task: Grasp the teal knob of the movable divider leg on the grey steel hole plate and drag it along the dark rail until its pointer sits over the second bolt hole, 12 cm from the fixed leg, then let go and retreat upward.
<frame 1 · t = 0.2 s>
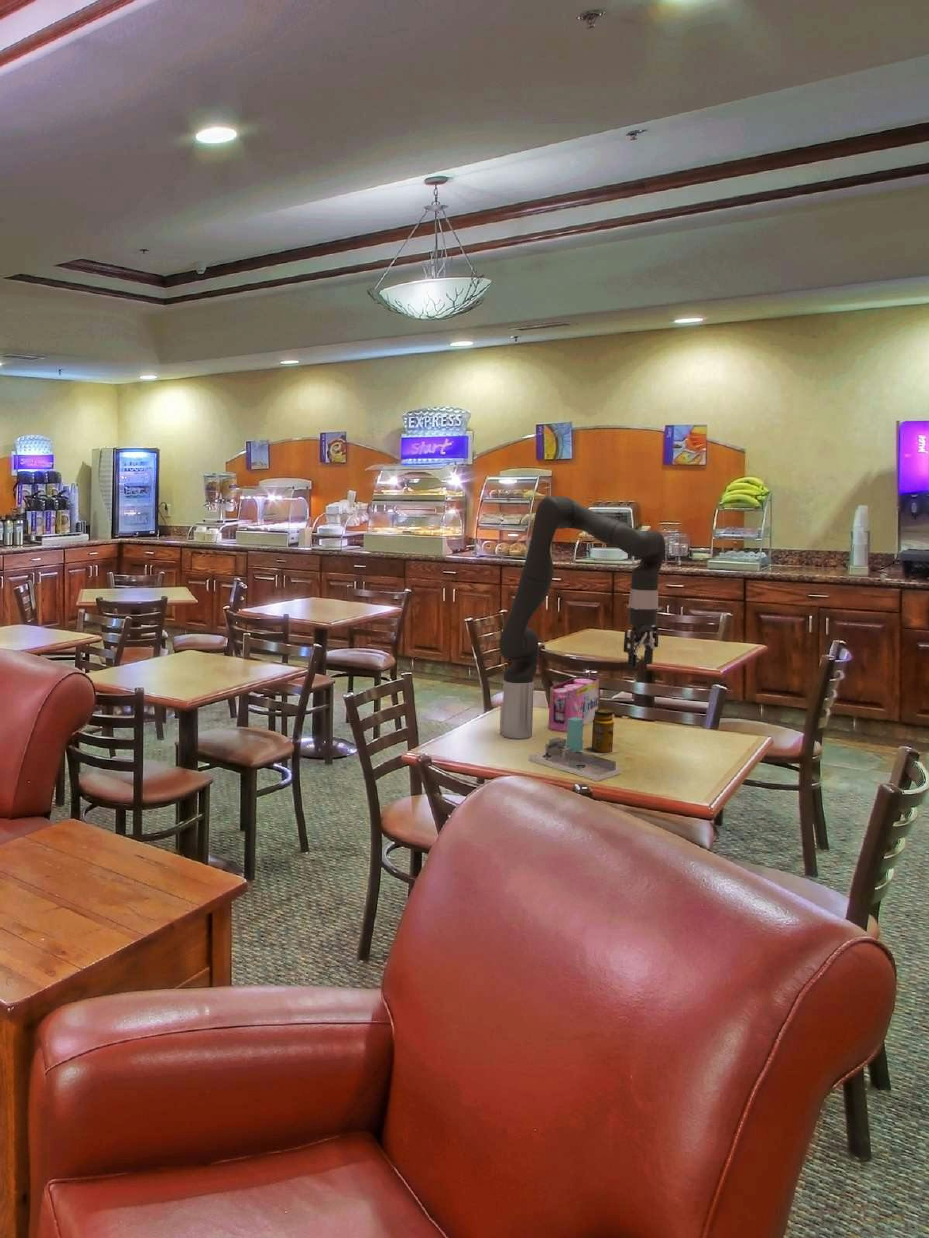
hand: (640, 665, 238), 28 cm above the table, fingers open, 8 cm apart
divider leg: (571, 738, 244), point 7 cm above the table, slide at 6.0 cm
gum box: (573, 724, 289), on the table
condiment: (599, 751, 259), on the table
hole plate: (573, 766, 243), on the table
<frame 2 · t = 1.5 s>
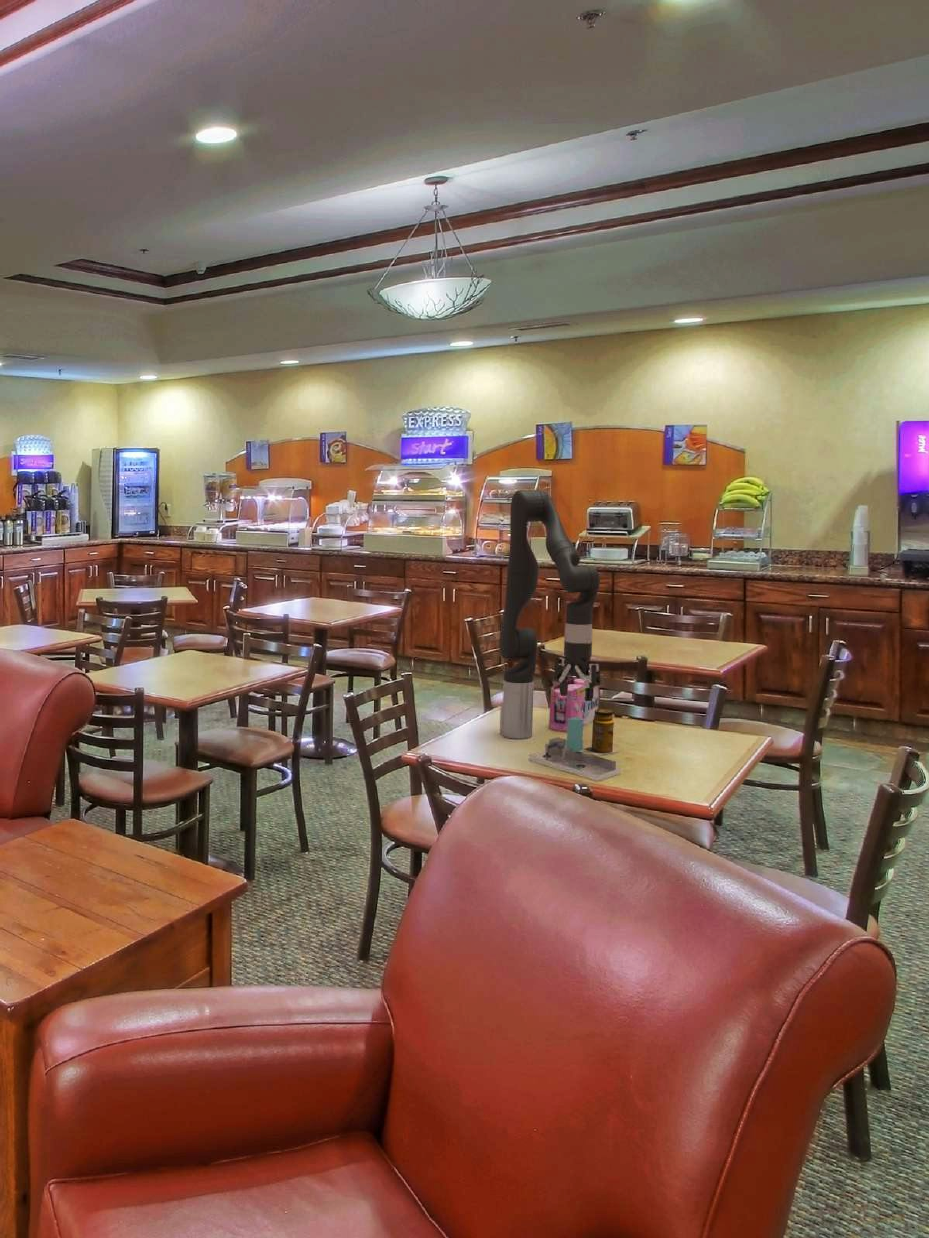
hand: (576, 698, 243), 18 cm above the table, fingers open, 8 cm apart
nothing on the table moved.
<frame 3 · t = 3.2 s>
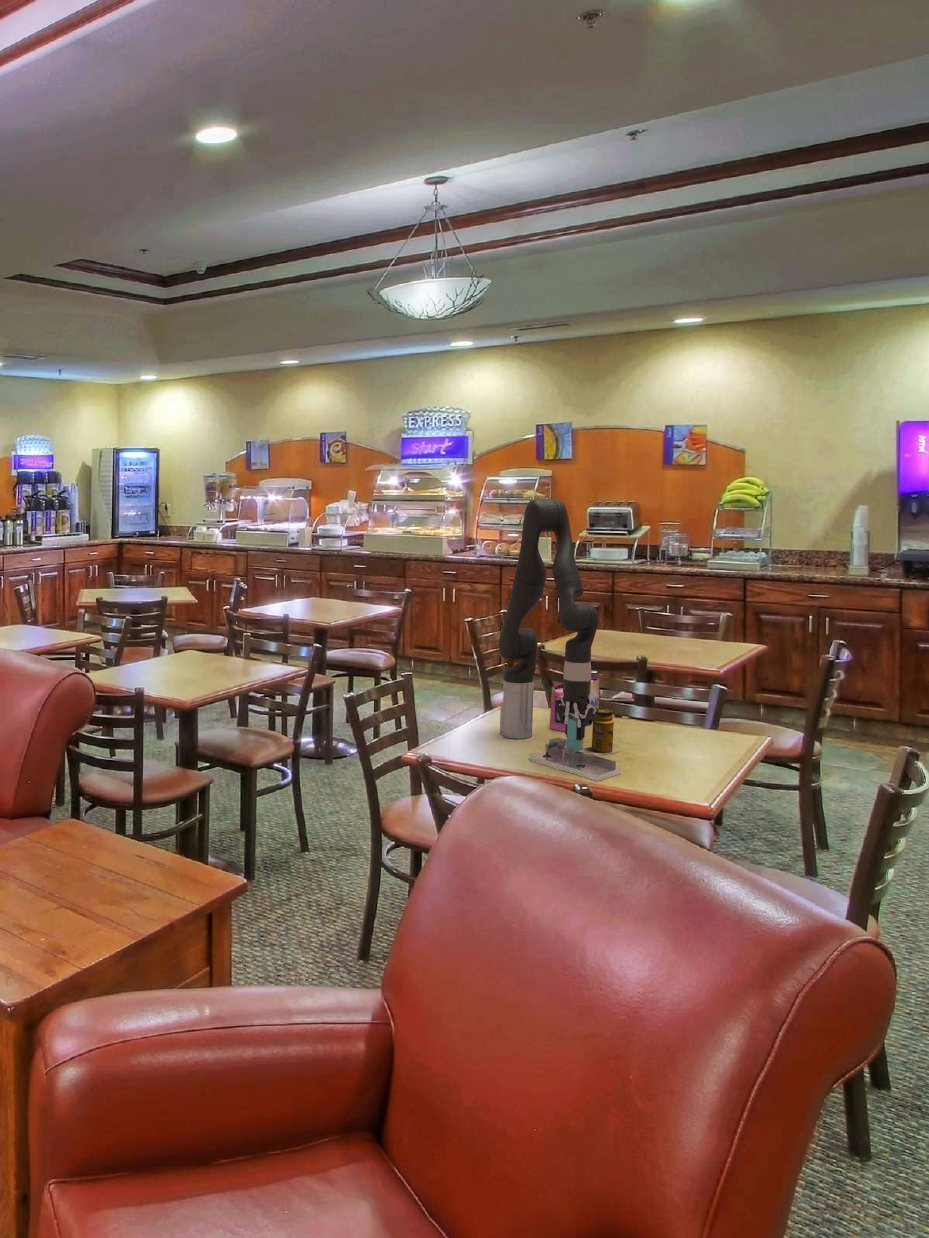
hand: (574, 738, 245), 7 cm above the table, fingers closed on divider leg, 3 cm apart
divider leg: (571, 738, 244), point 7 cm above the table, slide at 6.0 cm, touching gripper
everything else where it was.
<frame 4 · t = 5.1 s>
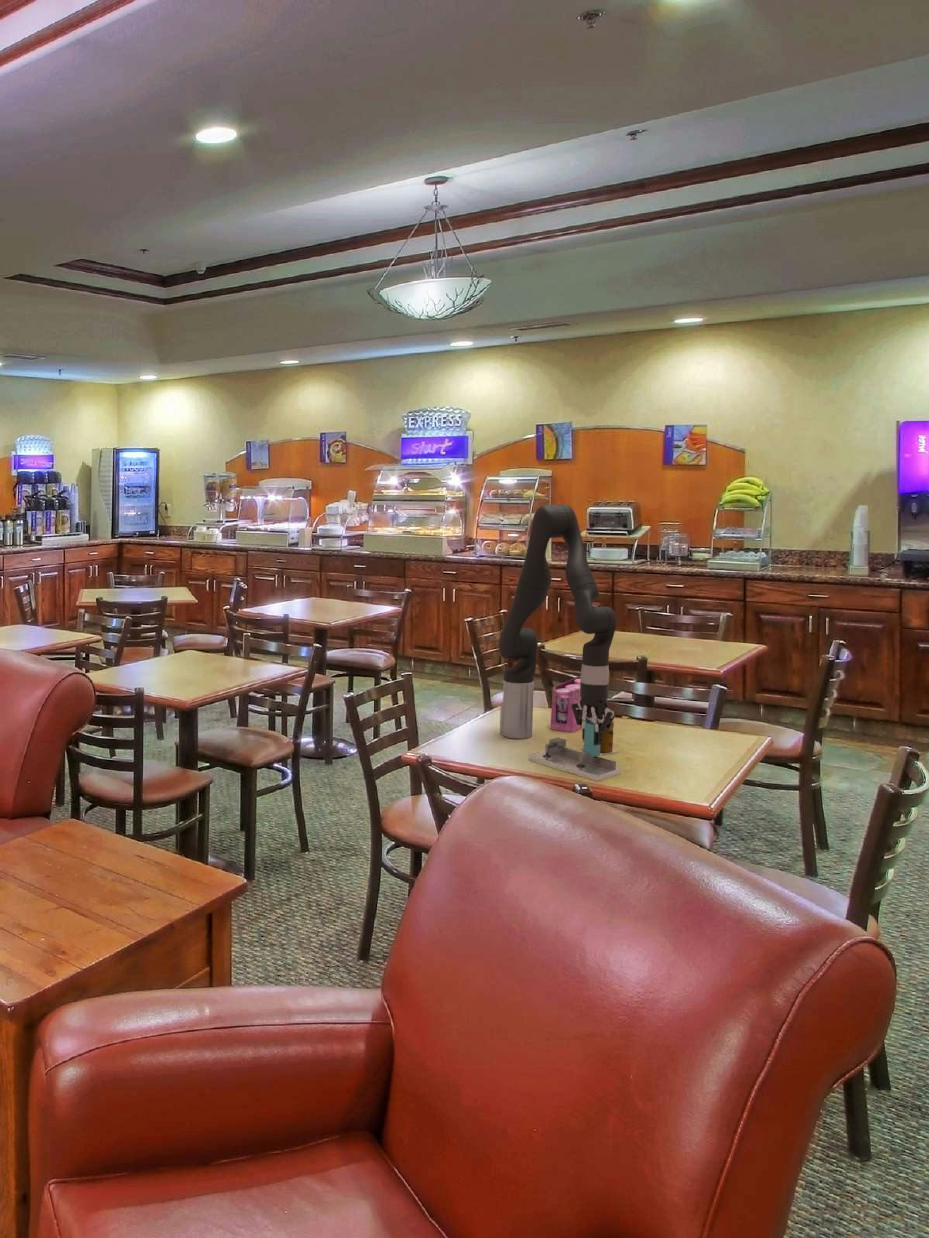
hand: (592, 742, 240), 7 cm above the table, fingers closed on divider leg, 3 cm apart
divider leg: (588, 743, 239), point 7 cm above the table, slide at 11.9 cm, touching gripper
everything else where it was.
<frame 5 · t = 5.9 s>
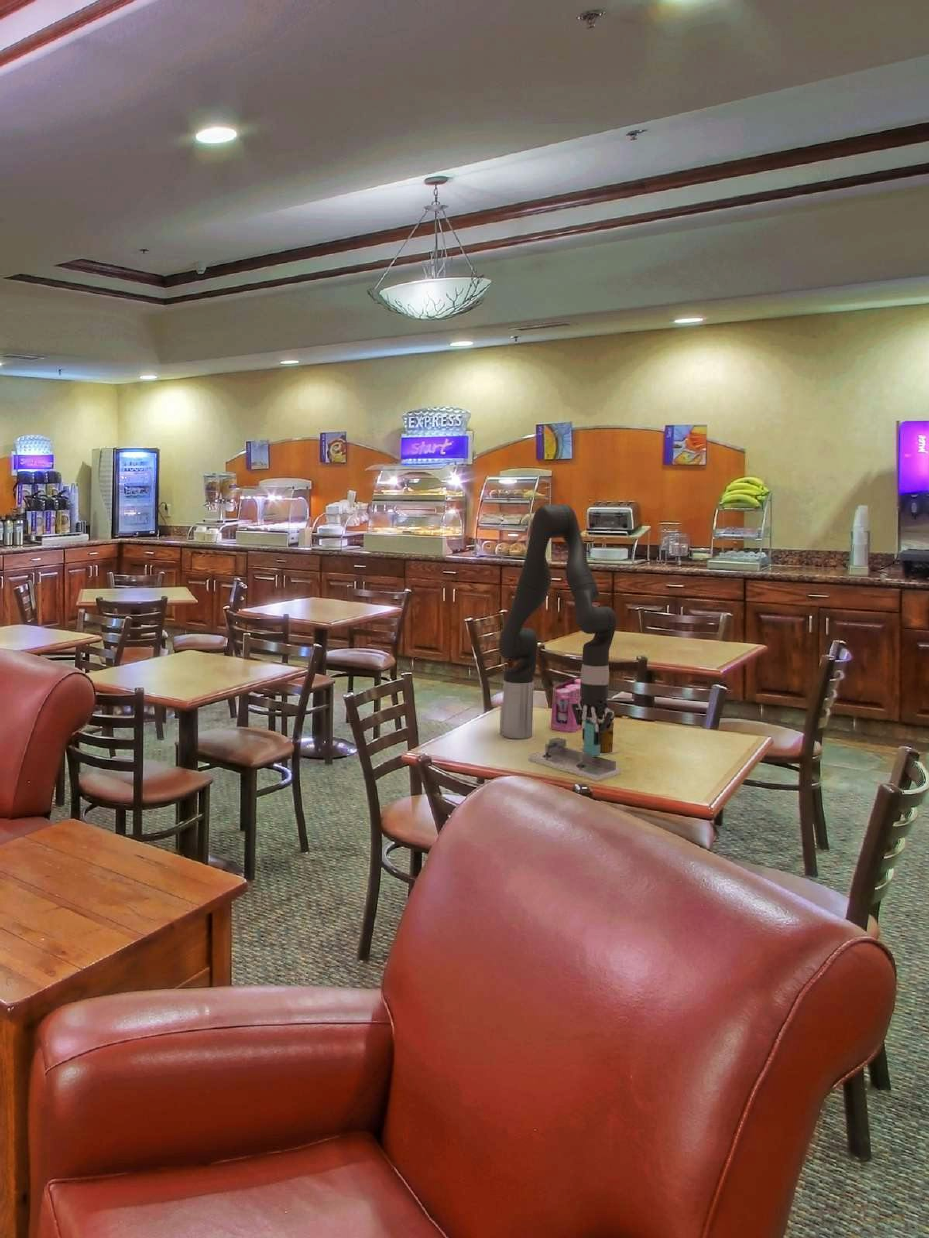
hand: (592, 742, 240), 7 cm above the table, fingers closed on divider leg, 3 cm apart
divider leg: (588, 743, 239), point 7 cm above the table, slide at 11.9 cm, touching gripper
everything else where it was.
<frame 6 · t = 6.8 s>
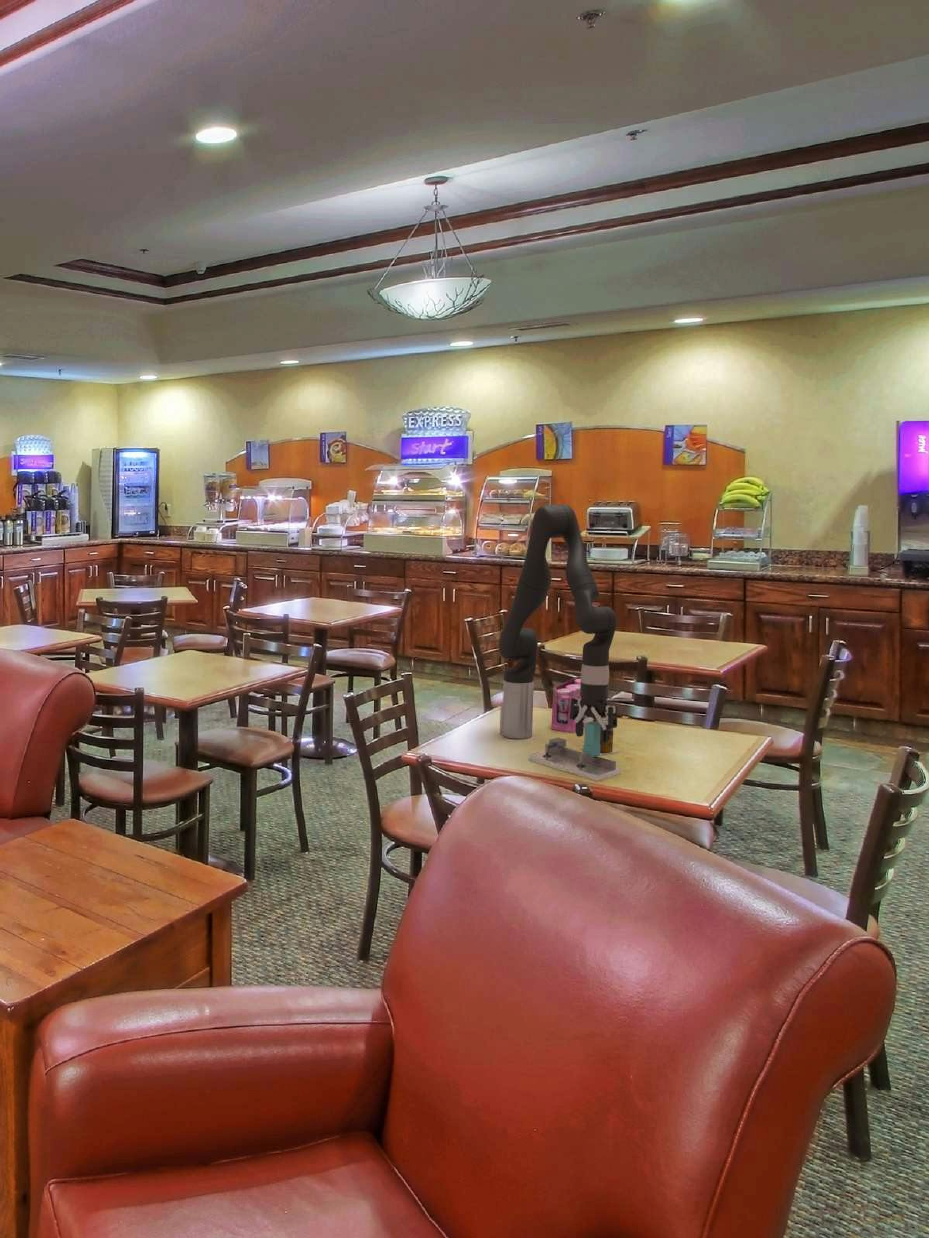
hand: (592, 739, 240), 8 cm above the table, fingers open, 8 cm apart
divider leg: (588, 743, 239), point 7 cm above the table, slide at 12.0 cm
everything else where it was.
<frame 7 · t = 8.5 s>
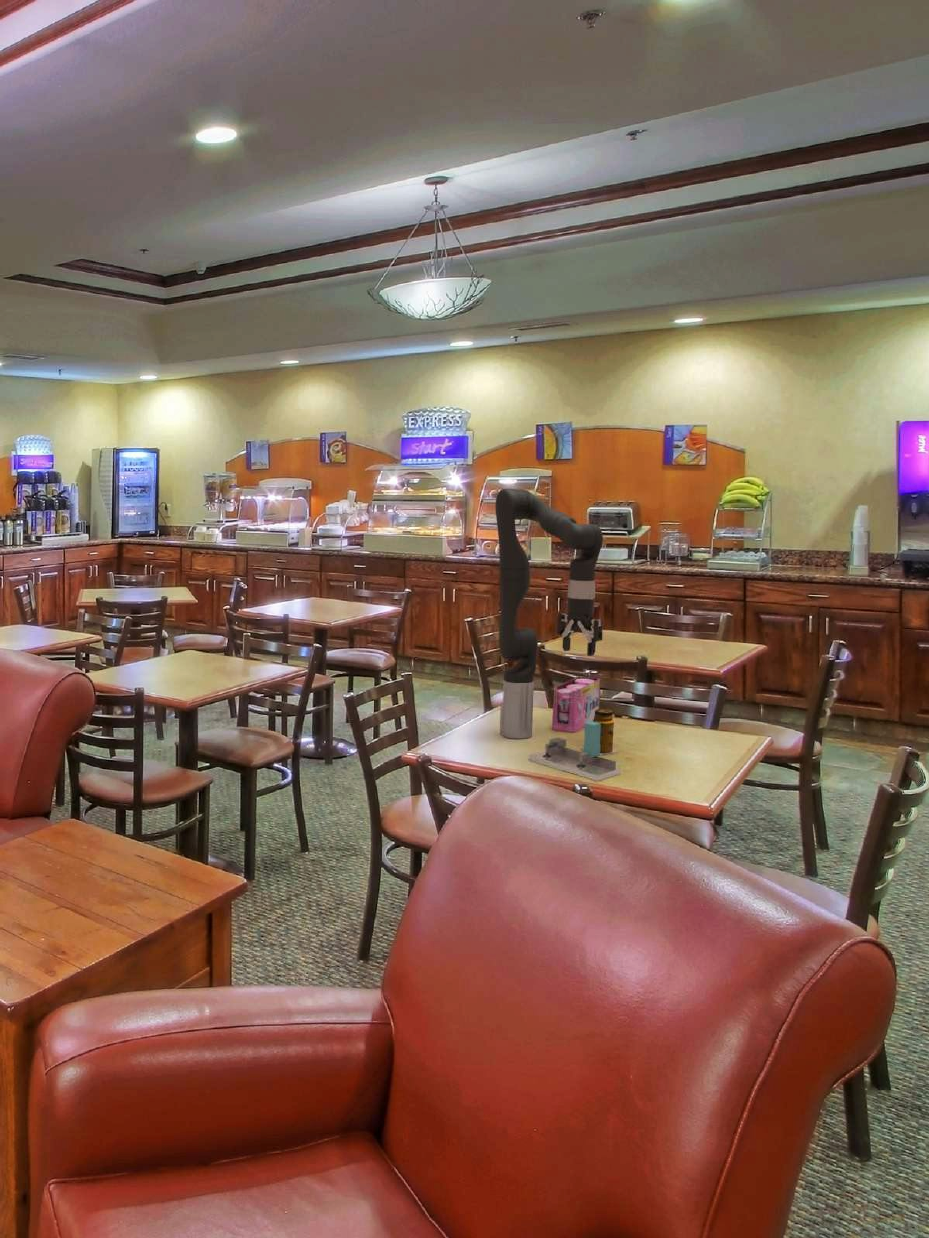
hand: (578, 653, 249), 30 cm above the table, fingers open, 8 cm apart
nothing on the table moved.
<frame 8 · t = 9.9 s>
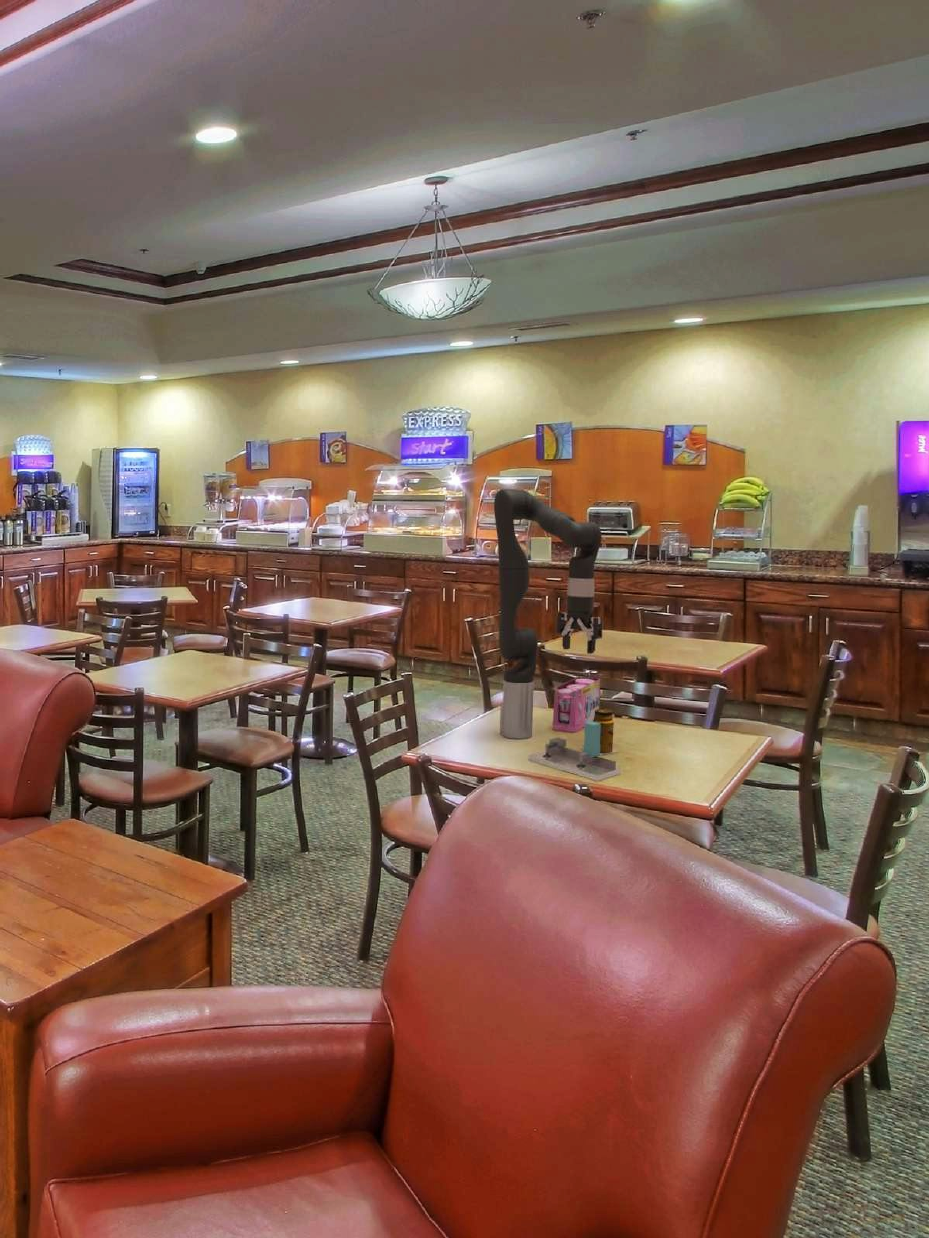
hand: (578, 651, 250), 30 cm above the table, fingers open, 8 cm apart
nothing on the table moved.
at the end: divider leg slide at 12.0 cm; condiment moved 0.3 cm from its start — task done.
